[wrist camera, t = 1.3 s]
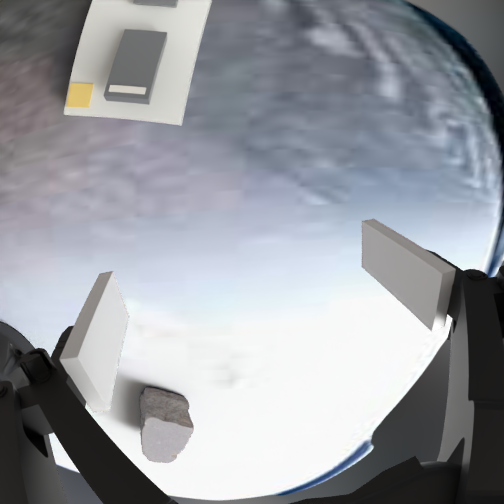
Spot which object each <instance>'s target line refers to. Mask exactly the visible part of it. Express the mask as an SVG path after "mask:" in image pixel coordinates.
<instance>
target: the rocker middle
mask: <svg viewBox="0 0 504 504" xmlns="http://www.w3.org/2000/svg"><path fill="white" fill-rule="evenodd" d="M133 3H134V4H136V5H149V6H162V7H173V8H177V4H178V0H134V2H133Z"/></svg>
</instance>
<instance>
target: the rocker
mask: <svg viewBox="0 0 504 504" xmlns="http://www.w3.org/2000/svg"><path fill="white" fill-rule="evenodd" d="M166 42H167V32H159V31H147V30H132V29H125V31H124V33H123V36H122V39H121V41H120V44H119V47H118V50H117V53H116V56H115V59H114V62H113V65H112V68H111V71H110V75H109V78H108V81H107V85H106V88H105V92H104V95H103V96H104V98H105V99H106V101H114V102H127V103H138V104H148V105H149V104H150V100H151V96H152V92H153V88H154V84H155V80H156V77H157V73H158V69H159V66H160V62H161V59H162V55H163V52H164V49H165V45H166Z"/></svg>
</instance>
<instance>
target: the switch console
mask: <svg viewBox="0 0 504 504" xmlns="http://www.w3.org/2000/svg"><path fill="white" fill-rule="evenodd" d="M133 2H134V0H92V3H91V6H90V9H89V12H88V15H87V18H86V21H85V25H84V28H83V31H82V35H81V38H80V42H79V45H78V49H77V53H76V57H75V61H74V65H73V69H72V73H71V78H70V83H69V88H68V93H67V98H66V103H65V109H64V115H74V116H90V117H106V118H118V119H129V120H140V121H149V122H157V123H166V124H173V125H181V126H182V122H183V117H184V112H185V107H186V102H187V97H188V93H189V88H190V84H191V79H192V75H193V71H194V66H195V62H196V58H197V54H198V50H199V46H200V42H201V38H202V35H203V31H204V27H205V23H206V20H207V16H208V13H209V9H210V6H211V2H212V0H178V4H177V8H173V7H162V6H149V5H136V4H134V3H133ZM125 29H132V30H147V31H159V32H167V42H166V45H165V49H164V52H163V55H162V59H161V62H160V66H159V69H158V73H157V77H156V80H155V84H154V88H153V92H152V96H151V100H150V104H149V105H148V104H138V103H127V102H114V101H106V99H105V98H104V96H103V95H104V92H105V88H106V85H107V81H108V78H109V75H110V71H111V68H112V65H113V62H114V59H115V56H116V53H117V50H118V47H119V44H120V41H121V39H122V36H123V33H124V31H125Z"/></svg>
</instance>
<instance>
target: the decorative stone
mask: <svg viewBox="0 0 504 504" xmlns="http://www.w3.org/2000/svg"><path fill="white" fill-rule="evenodd" d="M139 405H140V410H141V417H140V422H141V445H142V452H143V454H144V455H145V456H146V457H147V459H148V460H149V461H153V462H163V463H169V462H172V461H174V460H175V459H176V458H177V454H180V452H181V451H182V450H183V449H184V448H185V446H186V444H187V442H188V441H189V438H190V437H191V434H192V433H193V429H194V427H193V423H192V421H191V419H190V415H189V413H188V409H189V403H188V401H187V399H186V398H185V397H184V396H181V395H179V394H175V393H173V392H168V391H164V390H161V389H158V388H153V387H146V388H145V389H144V392H142V393H141V397H140V404H139Z"/></svg>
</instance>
